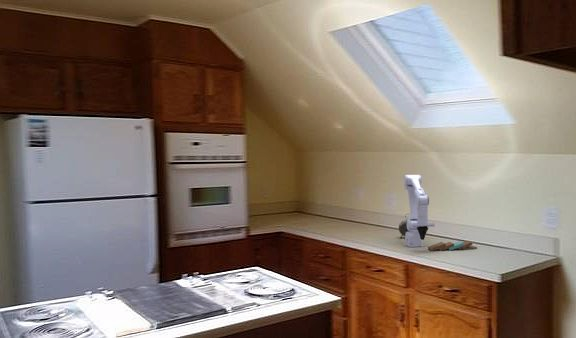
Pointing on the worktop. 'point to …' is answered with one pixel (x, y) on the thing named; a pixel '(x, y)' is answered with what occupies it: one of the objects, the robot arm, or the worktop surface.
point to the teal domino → (456, 245)
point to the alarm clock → (403, 227)
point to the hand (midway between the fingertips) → (422, 239)
